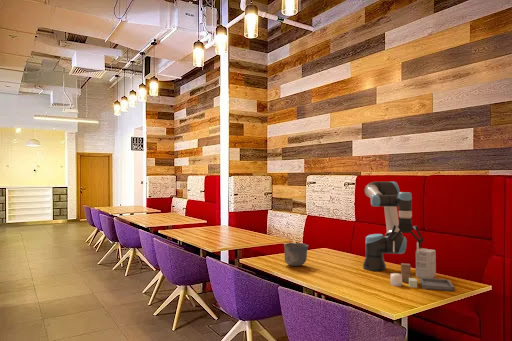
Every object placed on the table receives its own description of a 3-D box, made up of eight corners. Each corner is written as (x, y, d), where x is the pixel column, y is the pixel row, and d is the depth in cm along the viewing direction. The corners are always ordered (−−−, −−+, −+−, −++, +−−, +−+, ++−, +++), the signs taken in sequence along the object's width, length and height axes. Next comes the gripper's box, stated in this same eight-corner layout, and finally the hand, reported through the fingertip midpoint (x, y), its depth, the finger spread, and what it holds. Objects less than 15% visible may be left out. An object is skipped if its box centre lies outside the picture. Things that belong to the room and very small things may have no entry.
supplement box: (421, 273, 243) (421, 247, 243) (436, 276, 236) (436, 249, 236) (415, 276, 236) (415, 250, 236) (430, 279, 229) (430, 252, 230)
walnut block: (401, 279, 230) (400, 263, 230) (409, 280, 228) (409, 263, 228) (401, 281, 225) (401, 265, 225) (410, 282, 223) (410, 265, 223)
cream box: (408, 284, 219) (408, 277, 220) (416, 285, 218) (415, 278, 218) (409, 287, 214) (409, 280, 214) (417, 288, 213) (417, 281, 213)
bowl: (312, 264, 268) (312, 243, 269) (303, 270, 253) (303, 248, 253) (289, 262, 277) (289, 241, 277) (280, 267, 261) (279, 245, 261)
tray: (419, 281, 226) (419, 277, 226) (448, 283, 221) (448, 279, 221) (423, 288, 211) (423, 284, 211) (454, 291, 206) (454, 287, 206)
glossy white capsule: (390, 282, 223) (390, 272, 223) (401, 283, 221) (401, 273, 221) (390, 285, 217) (390, 275, 217) (402, 286, 215) (402, 276, 215)
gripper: (383, 217, 227) (384, 252, 226) (428, 218, 220) (429, 254, 219) (383, 216, 234) (383, 250, 234) (426, 217, 227) (427, 252, 226)
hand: (405, 252), depth 226 cm, fingers open, 13 cm apart
